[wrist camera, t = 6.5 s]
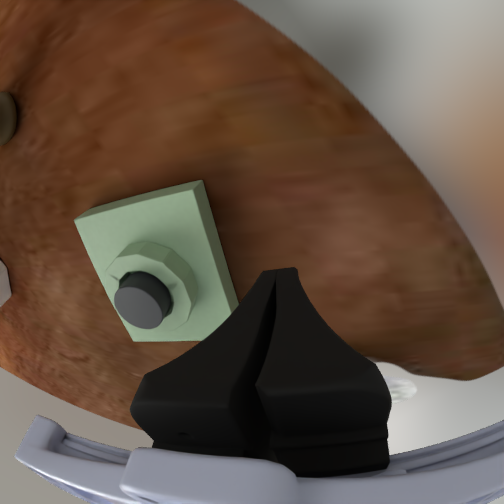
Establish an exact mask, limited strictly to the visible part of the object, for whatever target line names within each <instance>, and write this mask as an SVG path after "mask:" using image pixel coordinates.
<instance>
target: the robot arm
mask: <svg viewBox="0 0 504 504" xmlns="http://www.w3.org/2000/svg"><path fill="white" fill-rule="evenodd" d="M391 406H392V400H391V395H390V392H389V389H388V387H387V384H386V382H385V380H384V378H383V376H382V374H381V372H380V371H379V369H378V367H377V366H376V364H375V363H373V362H371V361H370V360H368V359H367V358H365V357H364V356H362V355H361V354H360V353H358V352H357V351H356V350H354V349H353V348H352V347H350V346H349V345H348V344H347V343H346V342H345V341H344V340H342V339H341V338H340V337H339V336H338V335H337V334H336V333H335V332H334V331H333V330H332V329H331V328H330V327H329V326H328V325H327V323H326V322H325V321H324V320H323V319H322V317H321V316H320V315H319V314H318V312H317V311H316V309H315V308H314V306H313V305H312V303H311V302H310V300H309V299H308V297H307V295H306V293H305V291H304V289H303V287H302V285H301V283H300V280H299V276H298V270H297V269H296V268H295V267H291V268H283V269H275V270H267V271H263V272H262V273H261V275H260V276H259V277H258V279H257V280H256V282H255V283H254V285H253V286H252V288H251V289H250V291H249V292H248V293H247V295H246V296H245V297H244V299H243V300H242V301H241V303H240V304H239V305H238V306H237V307H236V309H235V310H234V311H233V312H232V313H231V315H230V316H229V317H228V318H227V319H226V320H225V321H224V322H223V323H222V324H221V325H220V326H219V327H218V328H217V329H216V330H214V331H213V332H212V333H211V334H210V335H209V336H207V337H206V338H205V339H203V340H202V341H201V342H200V343H198V344H197V345H196V346H194V347H193V348H192V349H190V350H189V351H187V352H186V353H184V354H183V355H181V356H179V357H178V358H176V359H174V360H173V361H171V362H169V363H167V364H165V365H163V366H161V367H159V368H157V369H155V370H153V371H151V372H149V373H147V374H145V375H144V377H143V379H142V381H141V383H140V385H139V388H138V390H137V392H136V394H135V397H134V399H133V401H132V404H131V407H130V412H131V415H132V417H133V419H134V420H135V421H136V423H137V424H138V425H139V426H140V427H141V428H142V429H143V430H144V431H145V432H146V433H147V434H148V435H149V436H150V437H151V438H152V439H153V440H154V442H153V445H152V448H147V447H139V448H136V449H135V450H133V451H129V450H125V449H121V448H117V447H113V446H109V445H105V444H102V443H98V442H95V441H91V440H88V439H85V438H82V437H79V436H76V435H73V434H70V433H67V432H66V431H65V430H64V429H63V428H62V427H61V426H60V425H59V424H58V423H56V422H55V421H53V420H51V419H48V418H46V417H43V416H40V415H36V417H35V418H34V420H33V422H32V424H31V426H30V427H29V429H28V431H27V433H26V435H25V437H24V438H23V440H22V442H21V444H20V446H19V448H18V450H17V452H16V454H15V458H16V459H17V460H19V461H20V462H22V463H23V464H24V465H25V466H27V467H28V468H30V469H31V470H32V471H34V472H35V473H36V474H38V475H39V476H41V477H42V478H44V479H45V480H47V481H48V482H50V483H51V484H53V485H55V486H57V487H58V488H61V489H62V490H64V491H66V492H68V493H70V494H72V495H74V496H77V497H78V498H80V499H83V500H85V501H87V502H89V503H91V504H487V503H489V502H491V501H493V500H495V499H497V498H499V497H501V496H503V495H504V420H502V421H500V422H498V423H495V424H493V425H491V426H488V427H486V428H483V429H480V430H478V431H475V432H472V433H470V434H467V435H464V436H461V437H458V438H455V439H452V440H449V441H445V442H442V443H439V444H435V445H432V446H428V447H424V448H420V449H416V450H412V451H408V452H403V453H399V454H394V455H389V449H388V441H387V438H388V429H387V421H388V418H389V414H390V410H391Z"/></svg>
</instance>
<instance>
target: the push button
mask: <svg viewBox="0 0 504 504" xmlns="http://www.w3.org/2000/svg"><path fill="white" fill-rule="evenodd" d="M114 304H115V307H116V309H117V311H118V313H119V314H120V315H121V317H122V318H123V319H124V320H126V321H127V322H128V323H130V324H131V325H133V326H135V327H138V328H141V329H153V328H156V327H158V326H159V325H160V324H161V323H162V321H163V319H164V317H165V315H166V313H167V311H168V309H169V307H170V304H171V296H170V292H169V290H168V288H167V287H166V285H165V284H164V283H163V282H162V281H161V280H160V279H158V278H157V277H155V276H153V275H151V274H149V273H145V272H136V273H132V274H130V275H129V276H128V277H127V278H126V279H125V281H124V282H123V283H122V285H121V286H120V287H119V289H118V290H117V291H116V293H115V296H114Z"/></svg>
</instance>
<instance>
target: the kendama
mask: <svg viewBox="0 0 504 504" xmlns="http://www.w3.org/2000/svg"><path fill="white" fill-rule="evenodd" d="M16 121H17V114H16V106H15V103H14V100H13V98H12V97H11V95H10V94H9V93H8V92H0V146H1V145H4V144H6V143H7V142H8V141H9V140H10V139H11V138H12V135H13V133H14V131H15V127H16Z"/></svg>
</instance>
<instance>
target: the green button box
mask: <svg viewBox="0 0 504 504" xmlns="http://www.w3.org/2000/svg"><path fill="white" fill-rule="evenodd" d="M74 222H75V224H76V226H77V229H78V231H79V234H80V236H81V238H82V241H83V243H84V245H85V248H86V250H87V252H88V254H89V257H90V259H91V261H92V263H93V265H94V267H95V269H96V272H97V274H98V276H99V278H100V280H101V282H102V284H103V286H104V288H105V291H106V293H107V295H108V297H109V298H110V300H111V302H112V304H113V306H114V308H115V309H116V307H115V304H114V296H115V293H116V291H117V290H118V289H119V287H120V286H121V285H122V283H123V282H124V281H125V279H126V278H127V277H128V276H129V275H130V274H132V273H136V272H145V273H149V274H151V275H153V276H155V277H157V278H158V279H160V280H161V281H162V282H163V283H164V284H165V285H166V287H167V288H168V290H169V292H170V296H171V304H170V307H169V309H168V311H167V313H166V315H165V317H164V319H163V321H162V323H161V324H160V325H159V326H158V327H156V328H153V329H141V328H138V327H135V326H133V325H131V324H130V323H128V322H127V321H126V320H124V319H123V318H122V317H121V315H120V314H119V313H118V311H117V309H116V311H117V313H118V315H119V316H120V318H121V320H122V322H123V324H124V325H125V327H126V329H127V331H128V332H129V334H130V336H131V337H132V339H133V341H198V340H203V339H205V338H206V337H207V336H209V335H210V334H211V333H212V332H213V331H214V330H216V329H217V328H218V327H219V326H220V325H221V324H222V323H223V322H224V321H225V320H226V319H227V318H228V317H229V316H230V315H231V313H232V312H233V311H234V310H235V309H236V307H237V306H238V305H239V303H238V300H237V297H236V293H235V290H234V287H233V283H232V280H231V277H230V273H229V270H228V267H227V263H226V260H225V257H224V253H223V250H222V246H221V243H220V240H219V236H218V233H217V229H216V226H215V222H214V219H213V215H212V212H211V208H210V205H209V201H208V198H207V194H206V191H205V187H204V183H203V180H198V181H194V182H189V183H185V184H181V185H176V186H172V187H168V188H164V189H160V190H156V191H152V192H148V193H144V194H140V195H137V196H133V197H129V198H125V199H122V200H118V201H115V202H111V203H108V204H104V205H101V206H97V207H94V208H91V209H88V210H87V211H86V212H84V213H83V214H81V215H80V216H79V217H77V218H76V219H75V220H74Z"/></svg>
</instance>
